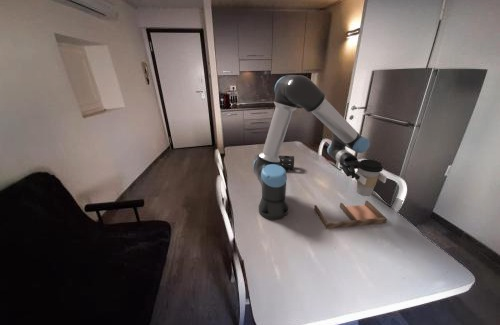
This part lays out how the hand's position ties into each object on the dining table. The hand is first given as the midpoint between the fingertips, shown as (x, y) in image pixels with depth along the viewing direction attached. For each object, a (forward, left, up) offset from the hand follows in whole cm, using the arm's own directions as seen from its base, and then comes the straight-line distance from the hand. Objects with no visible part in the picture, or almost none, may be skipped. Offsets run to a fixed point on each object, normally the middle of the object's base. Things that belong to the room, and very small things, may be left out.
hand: (375, 180), depth 82 cm
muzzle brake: (-30, +62, -22) cm, 72 cm away
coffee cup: (0, +5, -9) cm, 10 cm away
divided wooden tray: (-6, +5, -21) cm, 23 cm away
